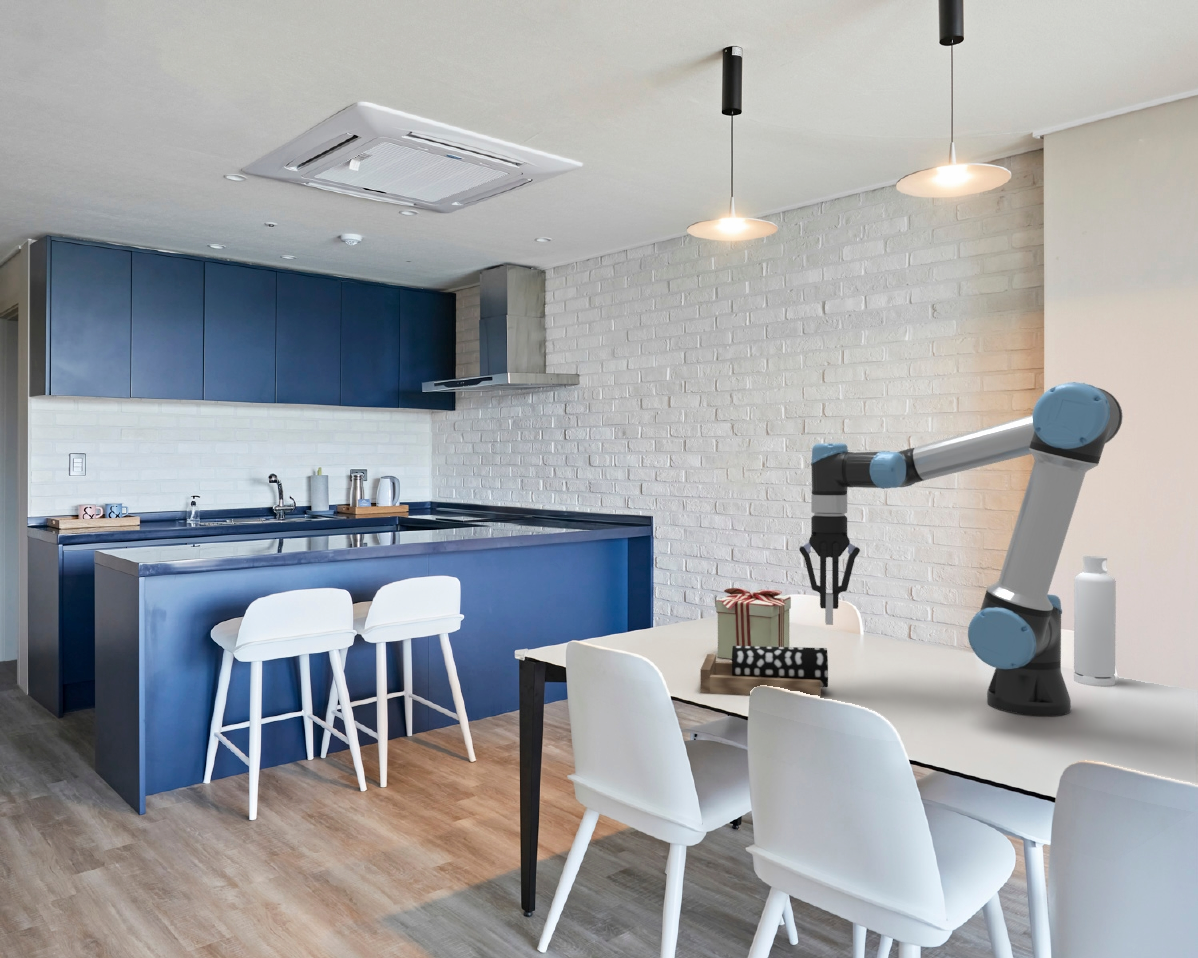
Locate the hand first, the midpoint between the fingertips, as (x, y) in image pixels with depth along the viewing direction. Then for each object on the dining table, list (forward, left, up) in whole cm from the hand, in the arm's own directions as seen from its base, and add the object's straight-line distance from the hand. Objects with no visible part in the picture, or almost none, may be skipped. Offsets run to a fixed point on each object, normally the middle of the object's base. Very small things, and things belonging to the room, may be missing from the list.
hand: (829, 623), depth 192 cm
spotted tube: (-1, +2, -9) cm, 9 cm away
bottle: (-32, -53, -15) cm, 63 cm away
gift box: (+33, -13, -15) cm, 38 cm away
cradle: (+11, +9, -14) cm, 20 cm away
